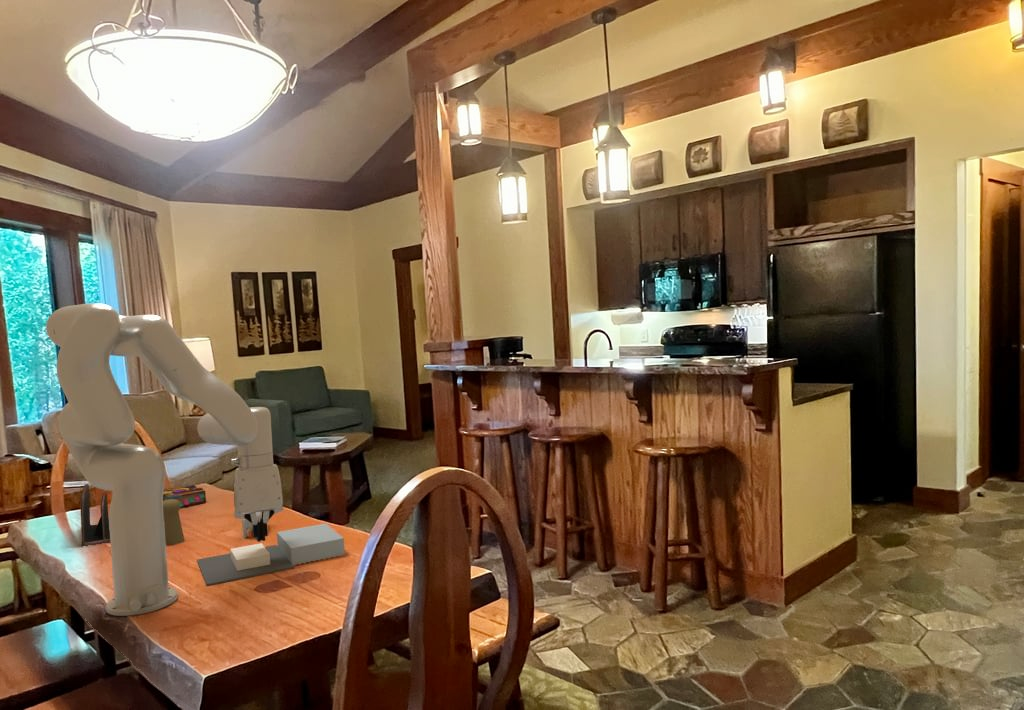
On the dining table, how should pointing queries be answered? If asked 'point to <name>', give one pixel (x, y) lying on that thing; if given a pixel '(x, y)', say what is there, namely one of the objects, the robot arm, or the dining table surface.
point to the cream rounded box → (250, 556)
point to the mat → (225, 570)
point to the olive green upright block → (172, 522)
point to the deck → (310, 543)
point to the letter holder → (94, 532)
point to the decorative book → (185, 495)
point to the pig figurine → (249, 524)
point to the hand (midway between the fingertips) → (260, 539)
